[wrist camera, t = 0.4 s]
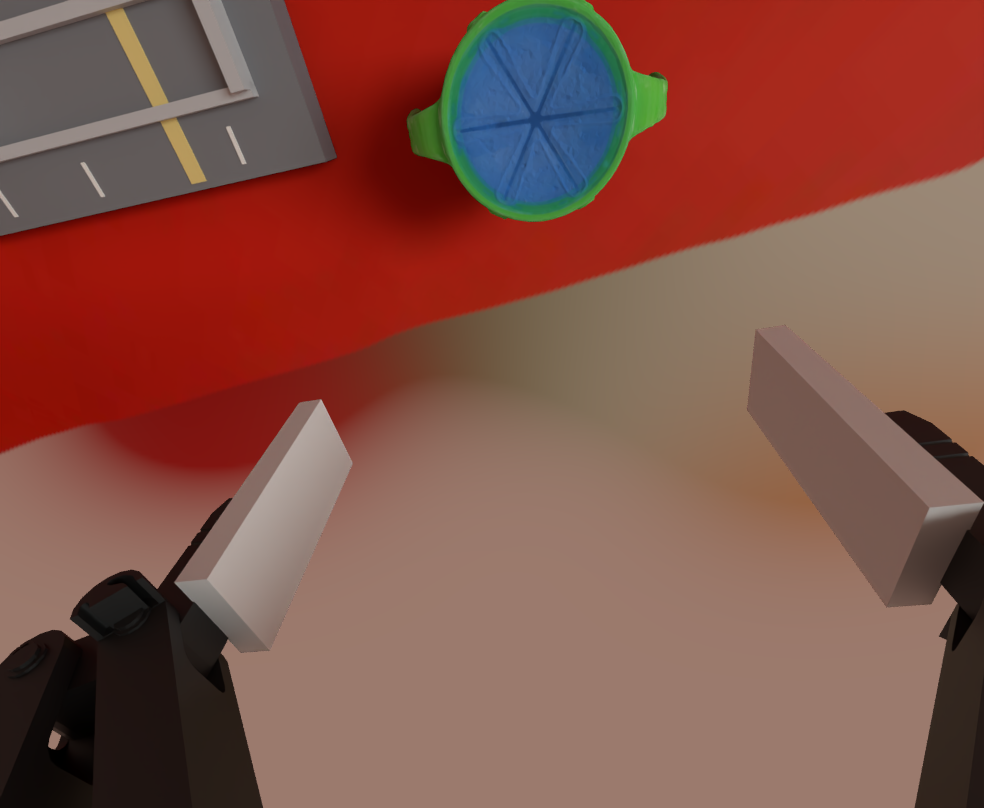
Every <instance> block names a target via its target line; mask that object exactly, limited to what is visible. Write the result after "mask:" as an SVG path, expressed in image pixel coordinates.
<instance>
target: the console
mask: <svg viewBox="0 0 984 808" xmlns="http://www.w3.org/2000/svg"><path fill="white" fill-rule="evenodd" d="M335 158H337V156H336V153H335V150H334V147H333V144H332V141H331V138H330V135H329V132H328V129H327V126H326V124H325V121H324V118H323V115H322V112H321V109H320V106H319V103H318V100H317V97H316V94H315V91H314V88H313V85H312V82H311V79H310V76H309V73H308V70H307V67H306V64H305V61H304V58H303V55H302V52H301V50H300V47H299V44H298V41H297V38H296V35H295V32H294V29H293V26H292V23H291V20H290V17H289V14H288V11H287V8H286V5H285V2H284V0H0V236H2V235H6V234H10V233H15V232H19V231H24V230H28V229H32V228H37V227H41V226H46V225H50V224H54V223H59V222H63V221H68V220H72V219H76V218H81V217H85V216H90V215H94V214H98V213H103V212H107V211H112V210H116V209H120V208H125V207H129V206H133V205H138V204H142V203H147V202H151V201H155V200H160V199H164V198H169V197H173V196H177V195H182V194H186V193H191V192H195V191H199V190H204V189H208V188H213V187H217V186H221V185H226V184H230V183H235V182H239V181H243V180H248V179H252V178H257V177H261V176H265V175H270V174H274V173H279V172H283V171H287V170H292V169H296V168H301V167H305V166H309V165H314V164H318V163H323V162H327V161H329V160H332V159H335Z"/></svg>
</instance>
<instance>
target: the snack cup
mask: <svg viewBox="0 0 984 808" xmlns="http://www.w3.org/2000/svg"><path fill="white" fill-rule="evenodd" d="M667 90H668V83H667V80H666V78H665V77H664V76H663V75H661V74H660V73H658V72H653V73H651V74H649V76H648V75H644V74H641V73H637V72H635V71H633V70H632V69H631V67H630V64H629V61H628V58H627V55H626V53H625V50H624V48H623V46H622V44H621V42H620V41H619V39H618V37H617V35H616V34H615V32H614V31H613V29H612V27H611V26H610V25H609V24H608V23H607V22H606V21H605V20H604V19H603V18H602V17H601V16H600V15H599V14H597V13H596V12H595V11H594V9H593V6H592V5H591V4H590V3H588V2H586V1H585V0H507V1H505V2H503V3H501V4H499V5H497V6H496V7H494V8H492V9H491V10H489V11H488V12H485V11H483V12H481V13H480V14H479V15H478V16H477V17H476V18H475V19H474V20H473V21H471V23H470V24H469V25H468V27H467V33H466V34H465V36H464V37H463V38H462V40H461V42H460V43H459V45H458V47H457V48H456V50H455V53H454V54H453V56H452V58H451V61H450V63H449V66H448V69H447V72H446V75H445V79H444V84H443V88H442V94H441V97H440V99H439V100H438V101H437V102H436V103H435V104H433V105H432V106H430V107H428V108H426V109H425V110H423V111H421V110H420V109H413V110H412V111H411V112H410V113H409V115H408V117H407V128H408V130H409V137H410V139H411V147H412V151H413V152H414V154H416V155H418V156H422V157H427V158H430V159H434V160H438V161H441V162H444V163H447V164H449V165H450V166H451V167H452V168H453V170H454V172H455V174H456V175H457V177H458V179H459V180H460V182H461V183H462V184H463V186H464V187H465V188H466V190H467V191H468V192H469V193H470V194H471V195H472V196H473V197H474V198H475V199H476V200H477V201H478V202H479V203H481V204H482V205H484V206H485V207H487V208H488V210H489V211H490V212H491V213H492V214H494V215H496V216H499V217H501V218H503V219H506V218H510V219H514V220H520V221H527V222H539V221H547V220H551V219H555V218H558V217H561V216H564V215H566V214H569V213H571V212H573V211H574V210H576V209H581V208H583V207H585V206H586V205H587V204H589V203H590V202H591V201H593V199H594V197H595V195H596V194H597V193H598V192H599V191H600V190H601V189H602V188H603V187H604V186H605V185H606V184H607V182H608V181H609V180H610V178H611V177H612V175H613V174H614V172H615V171H616V169H617V167H618V165H619V163H620V162H621V160H622V158H623V155H624V153H625V150H626V148H627V145H628V142H629V141H630V139H631V138H633V137H634V136H635V135H637V134H638V133H640V132H642V131H644V130H646V129H647V128H649V127H652V126H653V125H654V124H655V123H657V122H659V121H660V120H662V119H663V118H664V117H665V115H666V108H667V107H666V101H667V95H666V94H667Z"/></svg>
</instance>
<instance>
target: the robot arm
mask: <svg viewBox="0 0 984 808" xmlns="http://www.w3.org/2000/svg"><path fill="white" fill-rule="evenodd" d="M747 410H748V412H749V413H750V415H751V416H752V418H753V419H754V420H755V422H756V423H757V425H758V426H759V428H760V429H761V430H762V432H763V433H764V435H765V436H766V437H767V439H768V440H769V442H770V443H771V444H772V446H773V447H774V448H775V450H776V451H777V453H778V454H779V456H780V457H781V459H782V460H783V461H784V463H785V464H786V466H787V467H788V468H789V470H790V471H791V473H792V474H793V476H794V477H795V479H796V480H797V481H798V483H799V484H800V486H801V487H802V488H803V490H804V491H805V493H806V494H807V496H808V497H809V498H810V500H811V501H812V503H813V504H814V505H815V507H816V508H817V510H818V511H819V512H820V514H821V515H822V517H823V518H824V520H825V521H826V522H827V524H828V525H829V527H830V528H831V529H832V531H833V532H834V534H835V535H836V537H837V538H838V539H839V541H840V542H841V544H842V545H843V546H844V548H845V549H846V551H847V552H848V554H849V555H850V556H851V558H852V559H853V561H854V562H855V563H856V565H857V566H858V567H859V569H860V571H861V572H862V573H863V575H864V576H865V577H866V579H867V580H868V582H869V583H870V585H871V586H872V588H873V589H874V590H875V592H876V593H877V594H878V596H879V597H880V599H881V600H882V602H883V603H884V605H885V606H886V607H898V606H912V605H926V604H932V602H933V600H934V598H935V596H936V594H937V592H938V590H939V588H940V586H941V585H943V587H944V588H945V589H946V590H947V591H948V592H949V594H950V595H951V596H952V597H953V598H954V599H955V601H956V602H957V603H958V604H957V605H956V607H955V609H954V611H953V612H952V614H951V616H950V618H949V619H948V621H947V623H946V625H945V626H944V628H943V630H942V632H941V633H940V636H939V637H942V638H944V639H946V640H947V642H946V647H945V652H944V657H943V663H942V668H941V673H940V678H939V683H938V689H937V694H936V699H935V705H934V709H933V715H932V720H931V725H930V730H929V736H928V741H927V746H926V751H925V756H924V762H923V767H922V773H921V778H920V783H919V788H918V793H917V799H916V803H915V808H984V465H983V464H981V463H980V462H979V461H978V460H977V459H975V458H974V457H973V456H970V457H969V455H968V452H967V451H965V450H964V449H963V448H962V447H961V446H959V445H958V444H957V443H952V441H951V438H950V437H948V436H947V435H946V434H944V433H943V432H942V431H941V430H940V429H938V428H937V427H936V426H935V425H933V424H932V423H931V422H928V421H926V420H924V419H922V418H920V417H917V416H915V415H913V414H911V413H909V412H906V411H895V412H888V413H884V412H882V411H881V410H880V409H879V408H878V407H877V406H876V405H874V404H873V403H872V402H871V401H870V400H869V399H868V398H867V397H866V396H864V395H863V394H862V393H861V392H860V391H859V390H858V389H857V388H856V387H854V386H853V385H852V384H851V383H850V382H849V381H848V380H846V379H845V378H844V377H843V376H842V375H841V374H840V373H839V372H838V371H836V370H835V369H834V368H833V367H832V366H831V365H830V364H829V363H827V362H826V361H825V360H824V359H823V358H822V357H821V356H820V355H819V354H817V353H816V352H815V351H814V350H813V349H811V347H810V346H808V345H807V344H806V343H805V342H804V341H803V340H802V339H801V338H799V337H798V336H797V335H796V334H795V333H794V332H793V331H791V330H790V329H789V328H788V327H787V326H786V325H782V326H776V327H769V328H763V329H757V330H756V332H755V342H754V350H753V360H752V369H751V378H750V387H749V396H748V405H747ZM351 466H352V461H351V459H350V457H349V455H348V453H347V451H346V449H345V447H344V445H343V443H342V441H341V439H340V437H339V435H338V433H337V430H336V429H335V427H334V424H333V422H332V421H331V419H330V416H329V414H328V412H327V410H326V408H325V406H324V404H323V402H322V400H321V399H320V400H314V401H307V402H301V403H299V404H298V405H297V407H296V408H295V410H294V411H293V413H292V414H291V416H290V417H289V418H288V420H287V421H286V423H285V424H284V426H283V427H282V429H281V430H280V431H279V433H278V434H277V436H276V437H275V439H274V440H273V441H272V443H271V444H270V446H269V447H268V448H267V450H266V451H265V453H264V454H263V456H262V457H261V459H260V460H259V461H258V463H257V464H256V466H255V467H254V469H253V470H252V472H251V473H250V474H249V476H248V477H247V479H246V480H245V482H244V483H243V484H242V486H241V487H240V489H239V490H238V492H237V493H236V494H235V496H234V497H233V498H229V499H228V500H227V501H225V502H224V503H223V504H222V505H221V506H220V507H219V508H218V509H216V510H215V511H214V512H213V513H212V514H211V515H210V517H209V518H208V520H207V521H206V522H205V524H204V525H203V527H202V528H201V532H199V533H198V534H197V535H196V536H195V538H194V539H193V540H192V542H191V546H188V547H187V549H186V550H185V552H184V553H183V555H182V556H181V557H180V559H179V560H178V561H177V563H176V564H175V565H174V567H173V568H172V570H171V571H170V572H169V574H168V575H167V577H166V578H165V579H164V581H163V582H162V583H161V585H160V586H159V588H158V589H156V588H155V587H154V586H153V585H152V584H151V583H150V582H149V581H148V580H147V579H146V578H145V577H144V576H143V575H142V574H141V573H140V572H139V571H135V570H128V571H123V572H119V573H117V574H115V575H113V576H110V577H109V578H107V579H105V580H104V581H102V582H101V583H99V584H98V585H96V586H95V587H93V588H92V589H91V590H90V591H89V592H88V593H87V594H86V595H85V596H84V597H83V598H82V599H81V600H80V601H79V603H78V604H77V605H76V607H75V608H74V609H73V612H72V615H71V617H70V619H71V620H72V621H73V622H74V623H75V624H77V625H78V626H79V627H80V628H82V629H83V630H84V631H85V632H87V633H88V634H89V636H86V637H84V638H81V639H78V640H76V641H74V640H72V639H71V638H70V637H68V636H67V635H66V634H65V633H63V632H62V631H59V630H51V631H48V632H45V633H42V634H39V635H37V636H36V637H34V638H32V639H30V640H28V641H26V642H25V643H23V644H22V645H20V647H18V648H16V649H15V650H14V651H13V652H12V653H11V654H10V655H9V656H8V657H7V658H6V659H5V660H4V661H3V662H2V663H1V664H0V808H263V806H262V802H261V797H260V794H259V789H258V785H257V781H256V777H255V773H254V769H253V765H252V760H251V756H250V752H249V748H248V744H247V740H246V736H245V732H244V728H243V724H242V720H241V715H240V711H239V707H238V703H237V699H236V695H235V691H234V687H233V682H232V679H231V674H230V670H229V667H228V662H227V661H226V659H225V658H224V656H223V655H222V654H221V651H222V649H223V648H224V646H225V644H226V642H227V640H229V641H230V642H231V643H232V644H233V645H234V646H235V647H236V648H237V649H238V650H239V651H240V652H241V653H244V652H257V651H269V650H270V649H271V647H272V644H273V642H274V640H275V637H276V636H277V633H278V631H279V629H280V627H281V624H282V622H283V620H284V617H285V615H286V613H287V611H288V608H289V606H290V604H291V602H292V599H293V597H294V595H295V593H296V590H297V588H298V586H299V583H300V581H301V579H302V577H303V575H304V572H305V570H306V568H307V566H308V563H309V561H310V559H311V556H312V554H313V552H314V550H315V547H316V545H317V543H318V540H319V538H320V536H321V534H322V531H323V529H324V527H325V525H326V523H327V520H328V518H329V516H330V513H331V511H332V509H333V507H334V504H335V502H336V500H337V498H338V495H339V493H340V491H341V489H342V486H343V484H344V482H345V480H346V477H347V475H348V473H349V471H350V468H351ZM52 730H53V731H55V732H57V733H58V734H60V735H61V738H60V741H59V744H58V746H57V747H56V749H55V750H54V749H51V748H49V747H48V743H49V738H50V735H51V732H52Z"/></svg>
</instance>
